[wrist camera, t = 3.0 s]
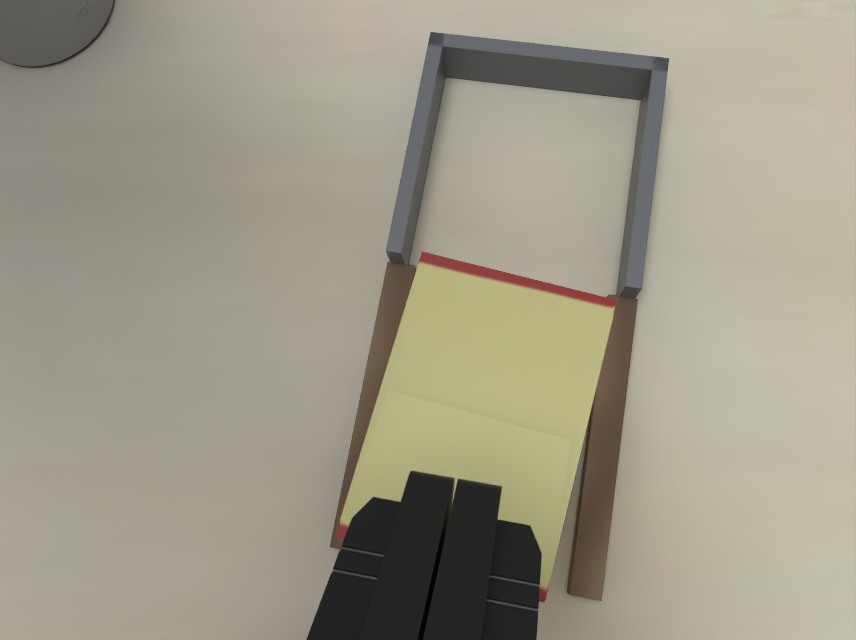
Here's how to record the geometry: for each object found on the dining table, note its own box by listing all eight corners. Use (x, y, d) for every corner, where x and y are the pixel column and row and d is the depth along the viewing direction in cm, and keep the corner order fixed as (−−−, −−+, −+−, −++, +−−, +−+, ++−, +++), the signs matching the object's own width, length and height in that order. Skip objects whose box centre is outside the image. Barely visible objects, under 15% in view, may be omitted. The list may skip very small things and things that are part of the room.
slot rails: (334, 545, 37) (329, 547, 36) (390, 268, 41) (387, 261, 40) (597, 597, 36) (601, 600, 35) (633, 305, 39) (637, 298, 38)
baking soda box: (447, 348, 39) (420, 247, 24) (566, 380, 39) (619, 297, 23) (396, 523, 37) (332, 537, 22) (521, 562, 37) (545, 604, 21)
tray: (393, 268, 41) (385, 250, 38) (434, 63, 44) (430, 32, 41) (630, 304, 39) (641, 288, 36) (656, 88, 42) (669, 58, 39)
